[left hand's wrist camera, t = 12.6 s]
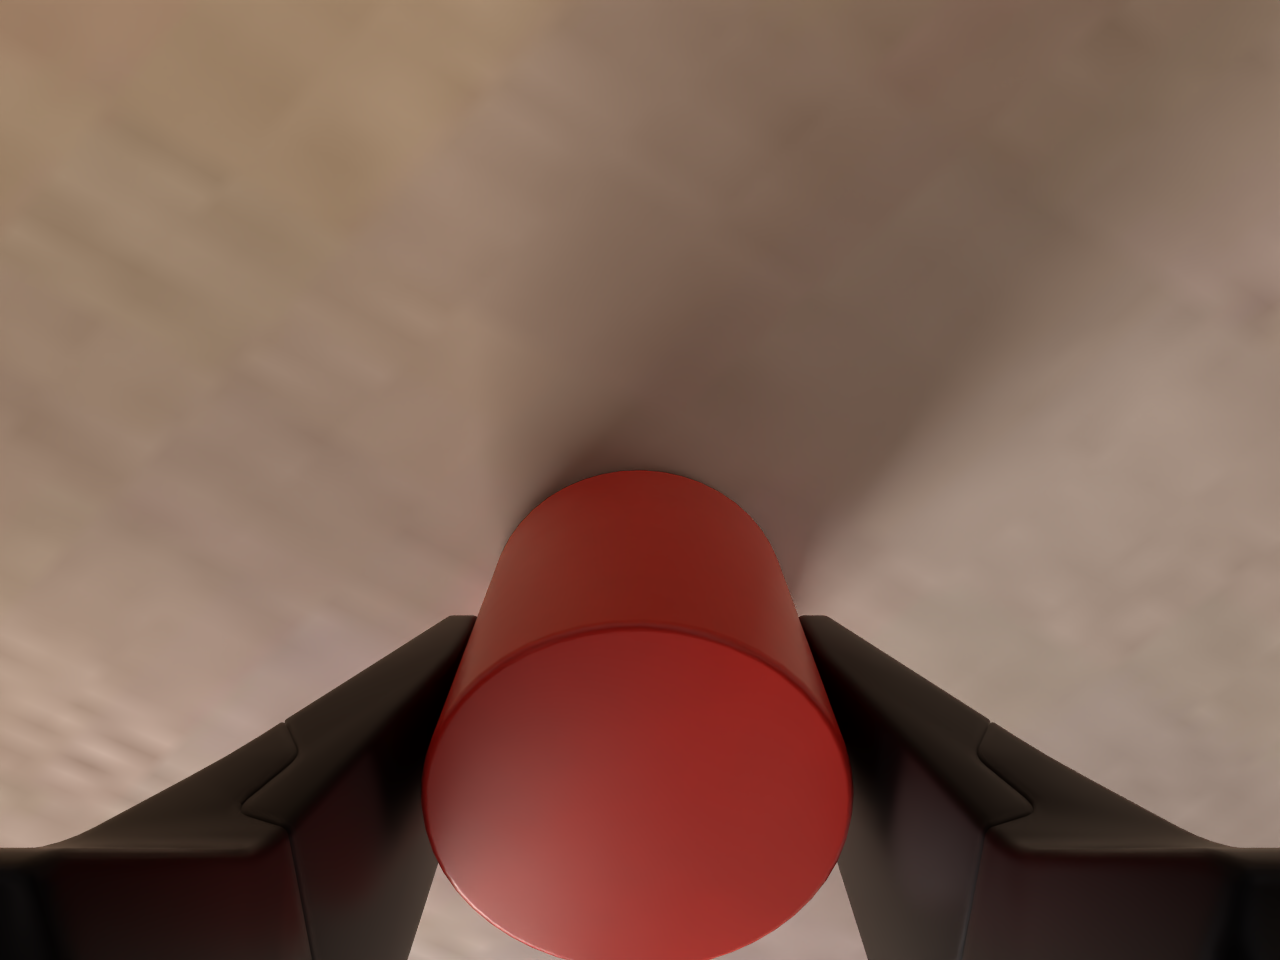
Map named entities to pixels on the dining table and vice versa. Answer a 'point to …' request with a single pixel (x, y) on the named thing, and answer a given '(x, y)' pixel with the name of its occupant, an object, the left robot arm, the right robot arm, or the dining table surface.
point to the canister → (637, 733)
